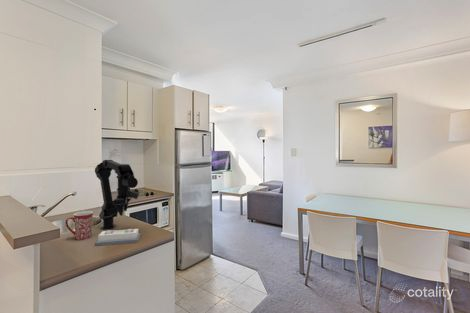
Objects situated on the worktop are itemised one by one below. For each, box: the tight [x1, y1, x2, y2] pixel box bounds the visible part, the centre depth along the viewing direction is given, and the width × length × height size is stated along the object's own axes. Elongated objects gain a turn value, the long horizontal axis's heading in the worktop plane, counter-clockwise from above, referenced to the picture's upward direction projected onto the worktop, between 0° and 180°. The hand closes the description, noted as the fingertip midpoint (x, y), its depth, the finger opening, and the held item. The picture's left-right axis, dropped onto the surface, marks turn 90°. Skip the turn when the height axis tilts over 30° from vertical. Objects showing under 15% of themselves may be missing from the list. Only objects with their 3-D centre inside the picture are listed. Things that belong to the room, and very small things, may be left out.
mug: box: [65, 210, 94, 241], centre depth 123 cm, size 13×9×14 cm
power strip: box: [97, 228, 139, 241], centre depth 120 cm, size 6×18×3 cm, turn 103°
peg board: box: [94, 228, 142, 247], centre depth 120 cm, size 10×20×6 cm, turn 104°
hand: (123, 213), depth 129 cm, fingers open, 9 cm apart
